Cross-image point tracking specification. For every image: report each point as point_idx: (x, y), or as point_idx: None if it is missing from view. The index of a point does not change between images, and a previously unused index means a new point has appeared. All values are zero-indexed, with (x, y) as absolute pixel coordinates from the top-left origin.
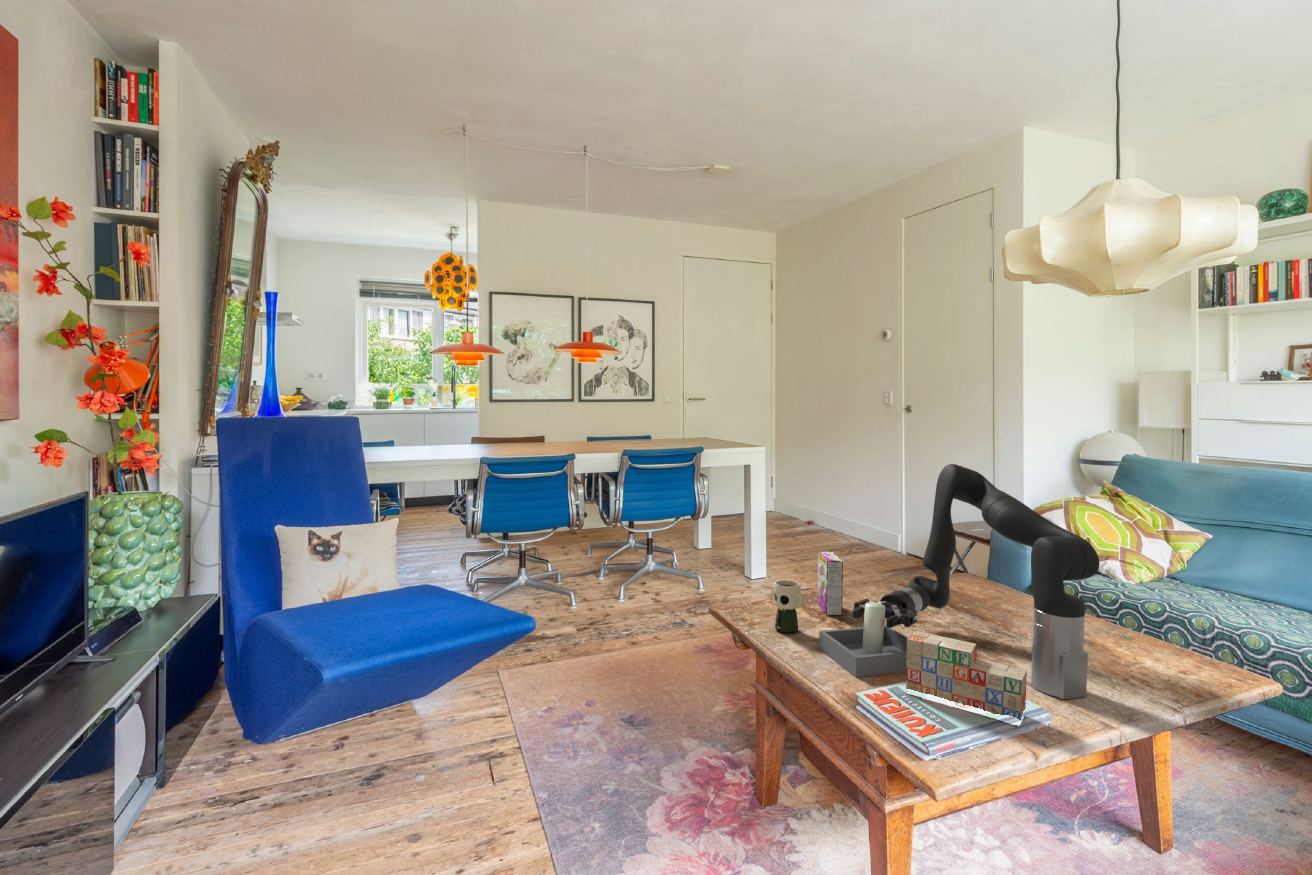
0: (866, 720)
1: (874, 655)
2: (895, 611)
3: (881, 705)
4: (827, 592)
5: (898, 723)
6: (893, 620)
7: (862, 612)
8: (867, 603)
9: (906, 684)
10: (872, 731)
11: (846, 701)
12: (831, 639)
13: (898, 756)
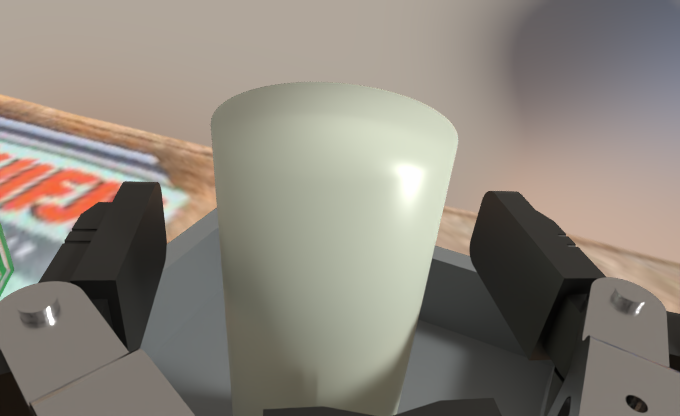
0: (111, 137)
1: (186, 236)
2: (114, 361)
3: (92, 185)
4: None
5: (27, 154)
6: (93, 218)
7: (533, 312)
8: (425, 119)
9: (3, 234)
10: (85, 122)
11: (190, 163)
12: (463, 256)
13: (16, 100)
